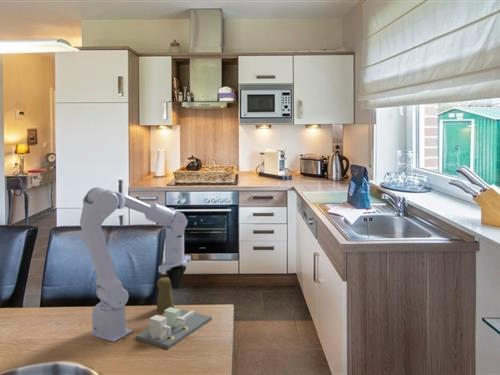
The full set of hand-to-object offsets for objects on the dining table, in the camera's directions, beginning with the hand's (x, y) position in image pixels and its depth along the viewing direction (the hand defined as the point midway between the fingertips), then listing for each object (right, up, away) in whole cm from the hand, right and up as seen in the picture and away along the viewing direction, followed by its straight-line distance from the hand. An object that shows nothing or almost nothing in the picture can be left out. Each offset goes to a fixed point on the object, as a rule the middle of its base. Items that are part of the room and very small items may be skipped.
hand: (175, 288), depth 149 cm
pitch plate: (+1, -11, -9) cm, 14 cm away
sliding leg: (+2, -9, -10) cm, 14 cm away
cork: (-4, -9, +6) cm, 11 cm away
